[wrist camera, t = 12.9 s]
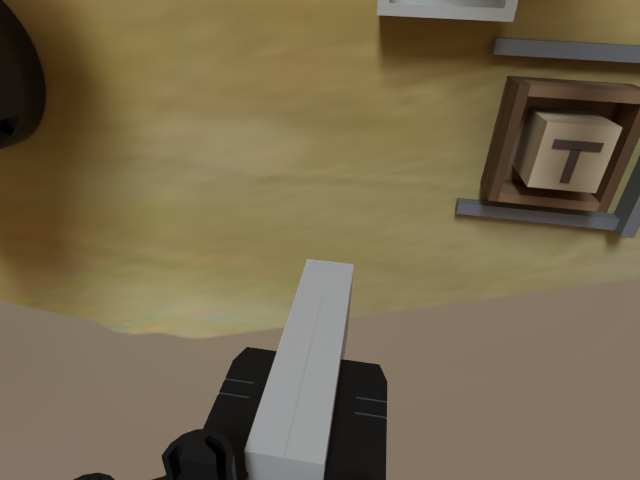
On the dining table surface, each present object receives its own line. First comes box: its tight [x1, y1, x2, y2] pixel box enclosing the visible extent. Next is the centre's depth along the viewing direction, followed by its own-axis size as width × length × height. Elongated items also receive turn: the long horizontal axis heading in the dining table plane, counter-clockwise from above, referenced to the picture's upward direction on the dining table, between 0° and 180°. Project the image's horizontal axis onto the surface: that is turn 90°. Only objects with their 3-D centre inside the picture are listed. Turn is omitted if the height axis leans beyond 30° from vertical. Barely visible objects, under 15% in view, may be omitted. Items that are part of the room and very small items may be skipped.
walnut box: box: [481, 76, 640, 213], centre depth 30 cm, size 8×8×4 cm
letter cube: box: [512, 107, 622, 193], centre depth 29 cm, size 4×4×5 cm
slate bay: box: [455, 37, 640, 238], centre depth 31 cm, size 14×13×2 cm
